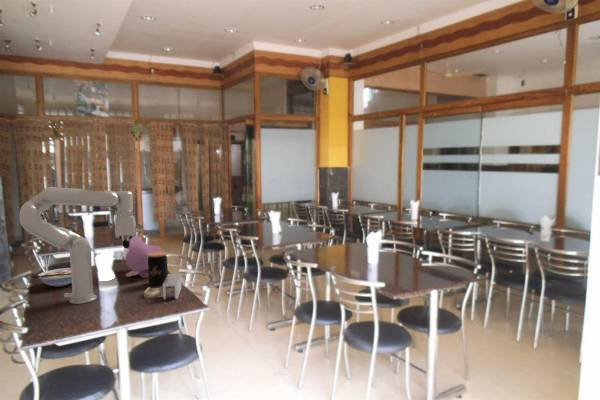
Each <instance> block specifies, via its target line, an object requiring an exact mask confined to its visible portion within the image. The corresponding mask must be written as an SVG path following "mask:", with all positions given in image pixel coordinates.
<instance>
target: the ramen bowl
mask: <svg viewBox="0 0 600 400" xmlns="http://www.w3.org/2000/svg"><path fill="white" fill-rule="evenodd" d="M31 278H32V279H39V280H40V281H41V282H42V283H43V284H45V285H47V286H51V287H52V286H53V287H56V288H59V287H60V288H61V287H66V286H68V285H69V284H70V285H71V284H72V277H71V267H65V268H64V267H63V268H56V269H50V270H47V271H43V272H41V273H39V274H37V275H33V276H31Z"/></svg>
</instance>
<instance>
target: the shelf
mask: <svg viewBox="0 0 600 400" xmlns="http://www.w3.org/2000/svg"><path fill="white" fill-rule="evenodd" d="M182 285H183V284H182V273H181V272H178V273H176V272H175V273H168V275H167V277H166V279H165V281H164V283H163V285H162V288H163V297H162V299H163V300H167V298H174V300H176V299H177V300H178V299H179V296H180V292H181V290H182ZM174 287H175V291H174V293H170V294H166V288H174Z"/></svg>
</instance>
